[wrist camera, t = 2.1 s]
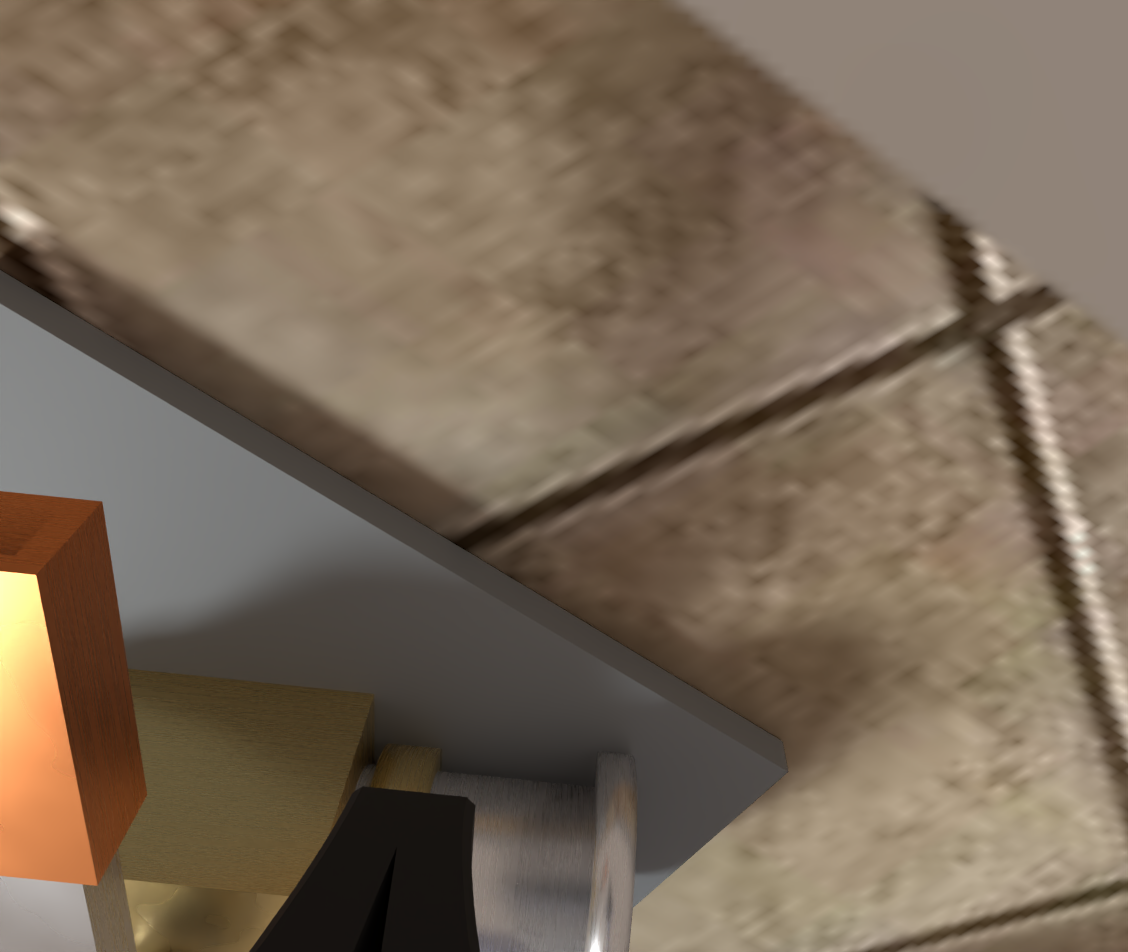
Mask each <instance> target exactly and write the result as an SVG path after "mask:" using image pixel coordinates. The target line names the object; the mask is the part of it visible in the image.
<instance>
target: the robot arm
mask: <svg viewBox="0 0 1128 952" xmlns="http://www.w3.org/2000/svg"><path fill="white" fill-rule="evenodd" d="M475 807H476V805H475V804H474V803H473V802H472V801H470V800H469V799H468V798H467V797H462V796H453V795H443V794H433V793H423V792H414V791H404V790H394V789H384V788H375V787H365V786H362V787H360V788H359V789H357V790H356V791H354V792H353V793H352V795H351V797H350V799H349V800H348V802H347V804H346V806H345V808H344V810H343V812H342V813H341V815H340V817H339V819H338V820H337V822H336V824H335V826H334V827H333V829H332V831H331V832H330V834H329V836H328V837H327V839H326V841H325V842H324V844H323V845H322V847H321V849H320V850H319V852H318V853H317V855H316V857H315V858H314V860H313V861H312V863H311V864H310V866H309V867H308V869H307V870H306V872H305V873H304V875H303V876H302V878H301V879H300V881H299V882H298V884H297V885H296V887H295V888H294V890H293V891H292V892H291V894H290V895H289V897H288V898H287V899H286V901H285V902H284V904H283V905H282V907H281V908H280V909H279V911H278V912H277V914H276V915H275V916H274V918H273V919H272V921H271V922H270V923H269V925H268V926H267V928H266V929H265V930H264V932H263V933H262V935H261V936H260V937H259V939H258V940H257V941H256V943H255V944H254V945H253V947H252V948H251V949H250V951H249V952H480V947H479V941H478V934H477V926H476V917H475V908H474V895H473V880H472V854H473V839H474V823H475Z"/></svg>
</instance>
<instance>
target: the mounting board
mask: <svg viewBox="0 0 1128 952" xmlns="http://www.w3.org/2000/svg"><path fill="white" fill-rule="evenodd" d="M0 491H5V492H15V493H25V494H35V495H44V496H54V497H64V498H74V499H84V500H93V501H102V502H103V509H104V515H105V522H106V528H107V535H108V541H109V548H110V554H111V561H112V567H113V574H114V581H115V587H116V594H117V600H118V607H119V613H120V620H121V626H122V633H123V639H124V646H125V652H126V659H127V665H128V669H137V670H146V671H156V672H166V673H176V674H185V675H195V676H205V677H215V678H224V679H234V680H244V681H254V682H263V683H273V684H283V685H293V686H302V687H312V688H322V689H332V690H341V691H351V692H361V693H371V694H374V729H375V765H377V763H378V760H379V757H380V755H381V753H382V751H383V749H384V747H385V746H386V745H387V744H389V743H391V744H401V745H411V746H420V747H430V748H440V749H442V772H452V773H462V774H472V775H481V776H491V777H501V778H511V779H520V780H530V781H540V782H549V783H559V784H569V785H579V786H588V787H592V786H593V778H594V771H595V764H596V757H597V751H601V752H610V753H620V754H630V755H633V757H634V760H635V765H636V777H637V842H636V864H635V882H634V897H633V907H634V906H635V905H637V904H638V903H639V902H640V901H641V900H642V899H643V898H645V897H646V896H647V895H648V894H649V893H650V892H651V891H653V890H654V889H655V888H656V887H657V886H658V885H659V884H661V883H662V882H663V881H664V880H665V879H666V878H667V877H669V876H670V875H671V874H672V873H673V872H674V871H675V870H677V869H678V868H679V867H680V866H681V865H682V864H683V863H685V862H686V861H687V860H688V859H689V858H690V857H691V856H693V855H694V854H695V853H696V852H697V851H698V850H699V849H701V848H702V847H703V846H704V845H705V844H706V843H707V842H709V841H710V840H711V839H712V838H713V837H714V836H715V835H717V834H718V833H719V832H720V831H721V830H722V829H723V828H725V827H726V826H727V825H728V824H729V823H730V822H731V821H733V820H734V819H735V818H736V817H737V816H738V815H739V814H741V813H742V812H743V811H744V810H745V809H746V808H748V807H749V806H750V805H751V804H752V803H753V802H754V801H756V800H757V799H758V798H759V797H760V796H761V795H762V794H764V793H765V792H766V791H767V790H768V789H769V788H770V787H772V786H773V785H774V784H775V783H776V782H777V781H778V780H780V779H781V778H782V777H783V776H784V775H785V774H786V773H788V768H787V762H786V757H785V752H784V747H783V742H782V741H781V740H779V739H778V738H776V737H774V736H773V735H771V734H769V733H768V732H766V731H764V730H763V729H761V728H759V727H758V726H756V725H754V724H753V723H751V722H749V721H748V720H746V719H744V718H743V717H741V716H740V715H738V714H736V713H735V712H733V711H731V710H730V709H728V708H726V707H725V706H723V705H721V704H720V703H718V702H716V701H715V700H713V699H711V698H710V697H708V696H706V695H705V694H703V693H701V692H700V691H698V690H696V689H695V688H693V687H691V686H690V685H688V684H686V683H685V682H683V681H681V680H680V679H678V678H676V677H675V676H673V675H671V674H670V673H668V672H666V671H665V670H663V669H662V668H660V667H658V666H657V665H655V664H653V663H652V662H650V661H648V660H647V659H645V658H643V657H642V656H640V655H638V654H637V653H635V652H633V651H632V650H630V649H628V648H627V647H625V646H623V645H622V644H620V643H618V642H617V641H615V640H613V639H612V638H610V637H608V636H607V635H605V634H603V633H602V632H600V631H598V630H597V629H595V628H593V627H592V626H590V625H588V624H587V623H585V622H583V621H582V620H580V619H579V618H577V617H575V616H574V615H572V614H570V613H569V612H567V611H565V610H564V609H562V608H560V607H559V606H557V605H555V604H554V603H552V602H550V601H549V600H547V599H545V598H544V597H542V596H540V595H539V594H537V593H535V592H534V591H532V590H530V589H529V588H527V587H525V586H524V585H522V584H520V583H519V582H517V581H515V580H514V579H512V578H510V577H509V576H507V575H505V574H504V573H502V572H500V571H499V570H497V569H496V568H494V567H492V566H491V565H489V564H487V563H486V562H484V561H482V560H481V559H479V558H477V557H476V556H474V555H472V554H471V553H469V552H467V551H466V550H464V549H462V548H461V547H459V546H457V545H456V544H454V543H452V542H451V541H449V540H447V539H446V538H444V537H442V536H441V535H439V534H437V533H436V532H434V531H432V530H431V529H429V528H427V527H426V526H424V525H422V524H421V523H419V522H418V521H416V520H414V519H413V518H411V517H409V516H408V515H406V514H404V513H403V512H401V511H399V510H398V509H396V508H394V507H393V506H391V505H389V504H388V503H386V502H384V501H383V500H381V499H379V498H378V497H376V496H374V495H373V494H371V493H369V492H368V491H366V490H364V489H363V488H361V487H359V486H358V485H356V484H354V483H353V482H351V481H349V480H348V479H346V478H344V477H343V476H341V475H339V474H338V473H336V472H335V471H333V470H331V469H330V468H328V467H326V466H325V465H323V464H321V463H320V462H318V461H316V460H315V459H313V458H311V457H310V456H308V455H306V454H305V453H303V452H301V451H300V450H298V449H296V448H295V447H293V446H291V445H290V444H288V443H286V442H285V441H283V440H281V439H280V438H278V437H276V436H275V435H273V434H271V433H270V432H268V431H266V430H265V429H263V428H261V427H260V426H258V425H256V424H255V423H253V422H252V421H250V420H248V419H247V418H245V417H243V416H242V415H240V414H238V413H237V412H235V411H233V410H232V409H230V408H228V407H227V406H225V405H223V404H222V403H220V402H218V401H217V400H215V399H213V398H212V397H210V396H208V395H207V394H205V393H203V392H202V391H200V390H198V389H197V388H195V387H193V386H192V385H190V384H188V383H187V382H185V381H183V380H182V379H180V378H178V377H177V376H175V375H174V374H172V373H170V372H169V371H167V370H165V369H164V368H162V367H160V366H159V365H157V364H155V363H154V362H152V361H150V360H149V359H147V358H145V357H144V356H142V355H140V354H139V353H137V352H135V351H134V350H132V349H130V348H129V347H127V346H125V345H124V344H122V343H120V342H119V341H117V340H115V339H114V338H112V337H110V336H109V335H107V334H105V333H104V332H102V331H100V330H99V329H97V328H95V327H94V326H92V325H91V324H89V323H87V322H86V321H84V320H82V319H81V318H79V317H77V316H76V315H74V314H72V313H71V312H69V311H67V310H66V309H64V308H62V307H61V306H59V305H57V304H56V303H54V302H52V301H51V300H49V299H47V298H46V297H44V296H42V295H41V294H39V293H37V292H36V291H34V290H32V289H31V288H29V287H27V286H26V285H24V284H22V283H21V282H19V281H17V280H16V279H14V278H12V277H11V276H9V275H8V274H6V273H4V272H3V271H1V270H0Z"/></svg>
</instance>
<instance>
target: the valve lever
mask: <svg viewBox="0 0 1128 952" xmlns="http://www.w3.org/2000/svg"><path fill="white" fill-rule="evenodd" d="M146 796H147V789H146V783H145V776H144V770H143V763H142V757H141V750H140V744H139V737H138V731H137V724H136V718H135V711H134V705H133V698H132V691H131V685H130V678H129V672H128V665H127V659H126V652H125V646H124V639H123V633H122V626H121V620H120V613H119V607H118V600H117V594H116V587H115V581H114V574H113V567H112V561H111V554H110V548H109V541H108V535H107V528H106V522H105V515H104V509H103V502H102V501H93V500H84V499H74V498H64V497H54V496H44V495H35V494H25V493H15V492H5V491H0V952H137V950H136V944H135V939H134V933H133V927H132V922H131V916H130V911H129V905H128V899H127V894H126V888H125V883H124V877H123V871H122V866H121V860H120V855H119V849H118V848H119V846H120V844H121V842H122V840H123V839H124V837H125V835H126V833H127V831H128V829H129V828H130V826H131V824H132V822H133V820H134V818H135V817H136V815H137V813H138V811H139V809H140V807H141V806H142V804H143V802H144V800H145V798H146Z"/></svg>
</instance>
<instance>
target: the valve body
mask: <svg viewBox="0 0 1128 952" xmlns="http://www.w3.org/2000/svg"><path fill="white" fill-rule="evenodd" d="M128 672H129V678H130V685H131V691H132V698H133V705H134V711H135V718H136V724H137V731H138V737H139V744H140V750H141V757H142V763H143V770H144V776H145V783H146V789H147V796H146V798H145V800H144V802H143V804H142V806H141V807H140V809H139V811H138V813H137V815H136V817H135V818H134V820H133V822H132V824H131V826H130V828H129V829H128V831H127V833H126V835H125V837H124V839H123V840H122V842H121V844H120V846H119V848H118V849H119V855H120V860H121V866H122V871H123V877H124V883H125V888H126V894H127V899H128V905H129V911H130V916H131V922H132V927H133V933H134V939H135V944H136V950H137V952H249V951H250V949H251V948H252V947H253V945H254V944H255V943H256V941H257V940H258V939H259V937H260V936H261V935H262V933H263V932H264V930H265V929H266V928H267V926H268V925H269V923H270V922H271V921H272V919H273V918H274V916H275V915H276V914H277V912H278V911H279V909H280V908H281V907H282V905H283V904H284V902H285V901H286V899H287V898H288V897H289V895H290V894H291V892H292V891H293V890H294V888H295V887H296V885H297V884H298V882H299V881H300V879H301V878H302V876H303V875H304V873H305V872H306V870H307V869H308V867H309V866H310V864H311V863H312V861H313V860H314V858H315V857H316V855H317V853H318V852H319V850H320V849H321V847H322V845H323V844H324V842H325V841H326V839H327V837H328V836H329V834H330V832H331V831H332V829H333V827H334V826H335V824H336V822H337V820H338V819H339V817H340V815H341V813H342V812H343V810H344V808H345V806H346V804H347V802H348V800H349V799H350V797H351V795H352V793H353V792H354V791H356V790H357V789H359V788H360V787H362V786H365V787H375V788H384V789H394V790H404V791H414V792H423V793H433V794H443V795H453V796H462V797H467V798H468V799H469V800H470V801H472V802H473V803H474V804H475V805H476V807H475V823H474V839H473V854H472V880H473V895H474V908H475V917H476V926H477V934H478V941H479V947H480V952H629V943H630V933H631V922H632V910H633V897H634V882H635V864H636V842H637V777H636V765H635V760H634V757H633V755H630V754H620V753H610V752H601V751H597V757H596V764H595V771H594V778H593V786H592V787H588V786H579V785H569V784H559V783H549V782H540V781H530V780H520V779H511V778H501V777H491V776H481V775H472V774H462V773H452V772H442V749H440V748H430V747H420V746H411V745H401V744H391V743H389V744H387V745H386V746H385V747H384V749H383V751H382V753H381V755H380V757H379V760H378V763H377V765H375V729H374V694H371V693H361V692H351V691H341V690H332V689H322V688H312V687H302V686H293V685H283V684H273V683H263V682H254V681H244V680H234V679H224V678H215V677H205V676H195V675H185V674H176V673H166V672H156V671H146V670H137V669H128Z"/></svg>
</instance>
